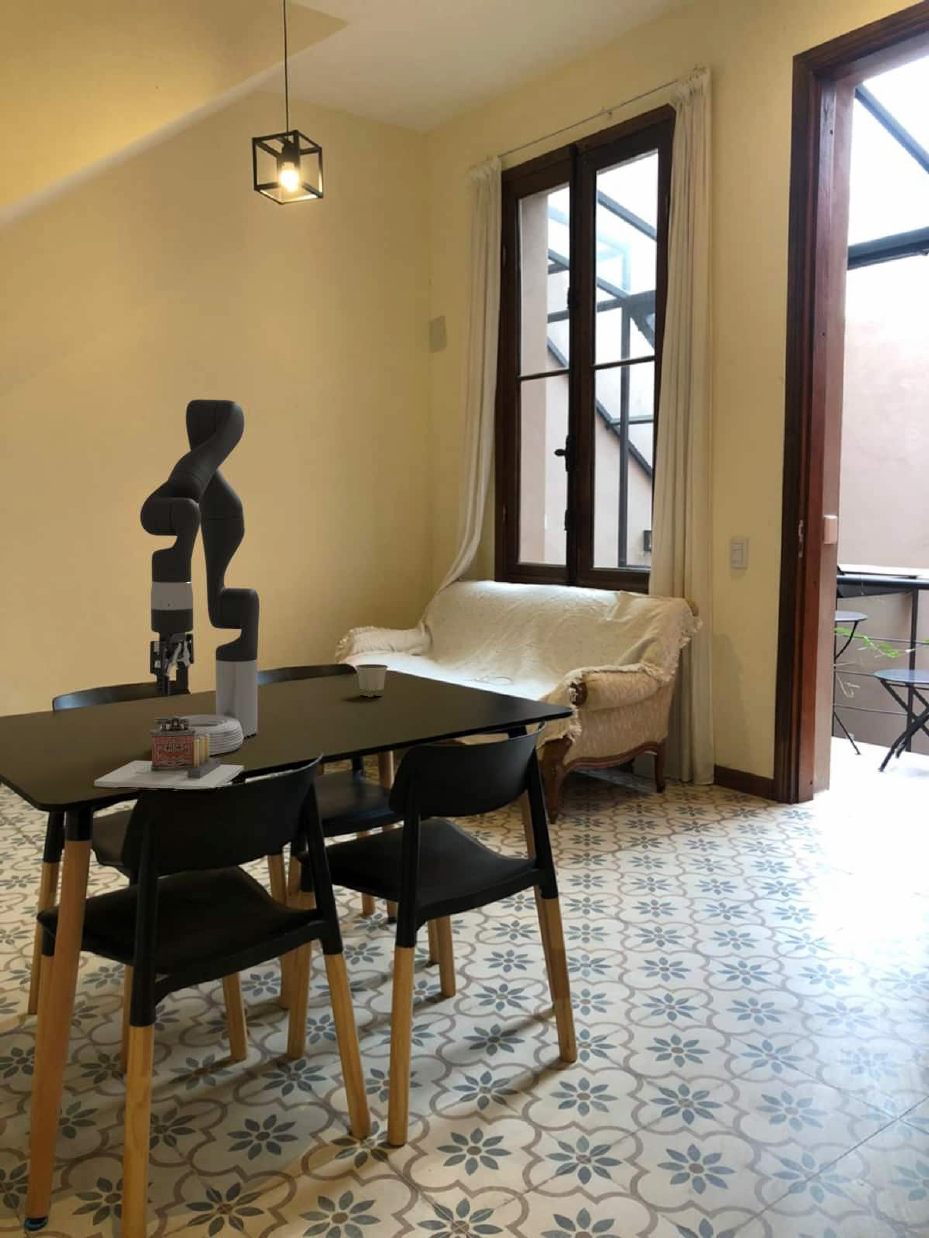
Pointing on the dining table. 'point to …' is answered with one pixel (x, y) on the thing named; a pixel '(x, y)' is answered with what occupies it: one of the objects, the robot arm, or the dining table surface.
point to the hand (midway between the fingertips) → (173, 692)
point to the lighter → (172, 745)
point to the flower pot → (371, 676)
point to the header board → (174, 773)
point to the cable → (216, 731)
